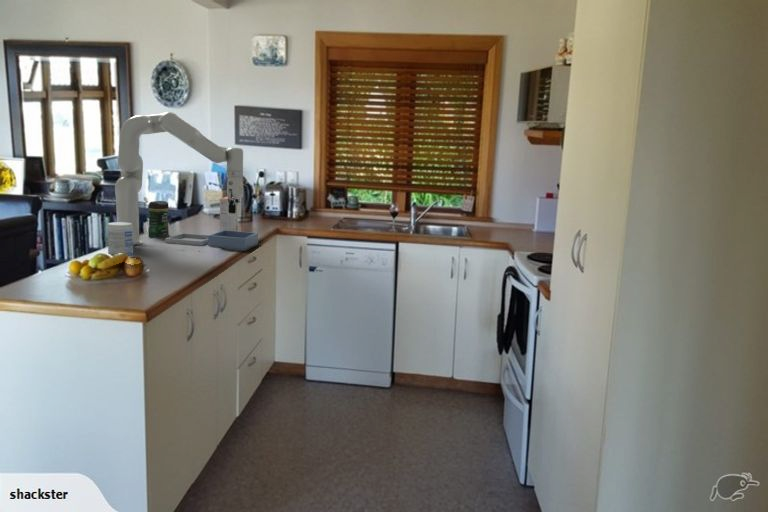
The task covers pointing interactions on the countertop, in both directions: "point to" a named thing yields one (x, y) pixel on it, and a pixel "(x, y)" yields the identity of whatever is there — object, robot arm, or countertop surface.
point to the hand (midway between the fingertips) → (234, 212)
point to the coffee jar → (158, 219)
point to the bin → (233, 240)
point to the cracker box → (227, 217)
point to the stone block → (238, 209)
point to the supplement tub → (120, 238)
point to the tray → (188, 239)
